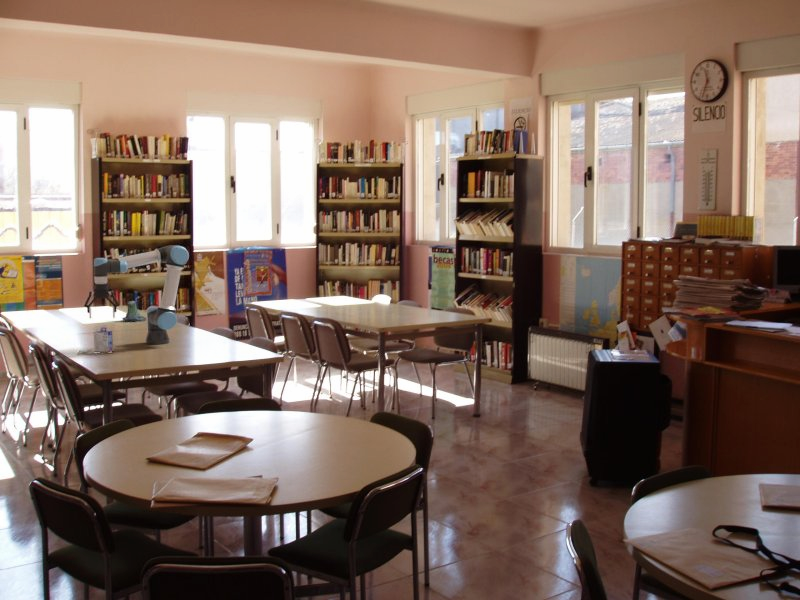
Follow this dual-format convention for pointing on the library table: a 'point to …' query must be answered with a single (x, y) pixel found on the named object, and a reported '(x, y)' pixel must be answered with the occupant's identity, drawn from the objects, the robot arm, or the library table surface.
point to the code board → (88, 352)
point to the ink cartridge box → (103, 341)
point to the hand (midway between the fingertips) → (102, 318)
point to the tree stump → (133, 313)
